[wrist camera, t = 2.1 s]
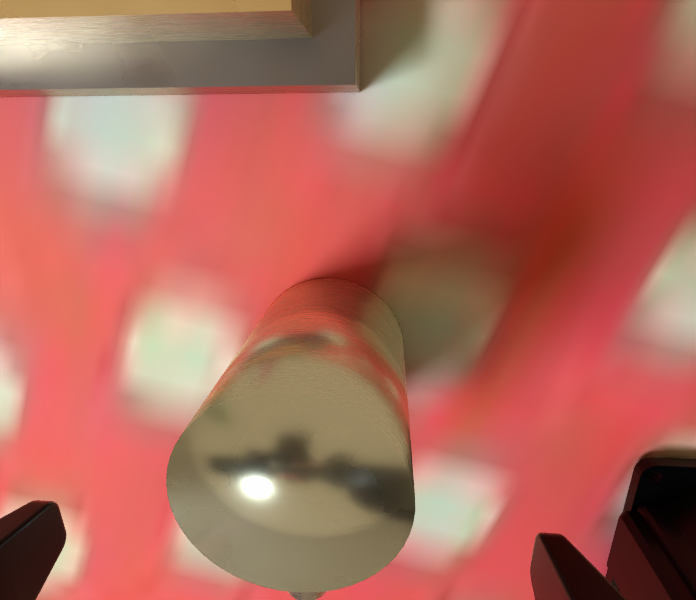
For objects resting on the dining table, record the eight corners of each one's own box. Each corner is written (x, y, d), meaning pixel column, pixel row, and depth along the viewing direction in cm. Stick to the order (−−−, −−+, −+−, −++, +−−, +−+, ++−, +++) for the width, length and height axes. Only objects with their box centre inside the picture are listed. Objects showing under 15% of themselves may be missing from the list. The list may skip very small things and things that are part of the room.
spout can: (405, 279, 14) (421, 398, 8) (399, 446, 17) (407, 648, 10) (253, 276, 15) (148, 388, 8) (266, 440, 17) (191, 630, 11)
